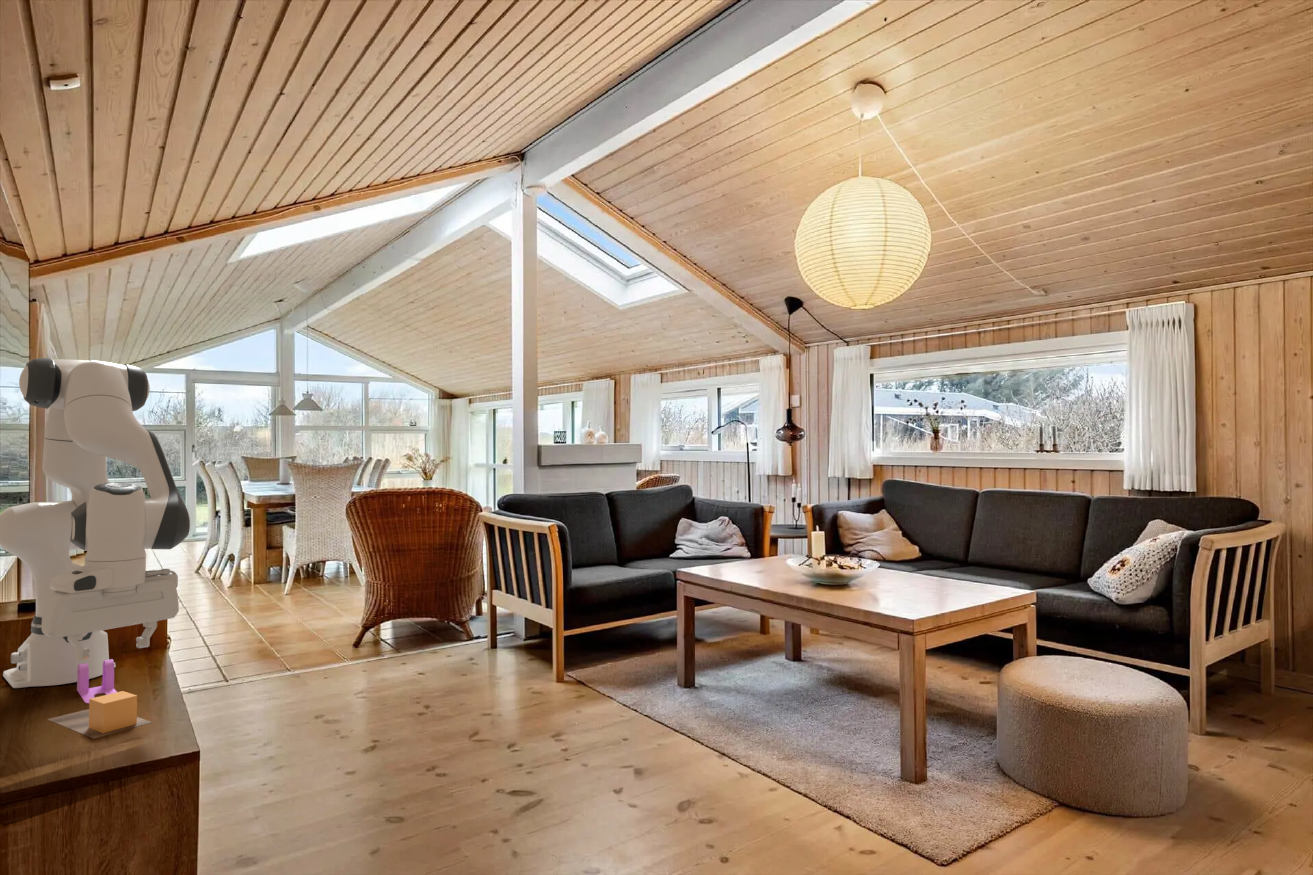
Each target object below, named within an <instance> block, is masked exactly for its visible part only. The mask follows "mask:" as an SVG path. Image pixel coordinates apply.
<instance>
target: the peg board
mask: <svg viewBox="0 0 1313 875" xmlns="http://www.w3.org/2000/svg"><path fill="white" fill-rule="evenodd" d="M46 720H47V721H50V722H51V723H55V724H57V725H59V726H62V727H65V728H66V729H69V730H71V731H74V732H76V733H79V734H82V735H84V736H87V737H89V738H91V739H98V738H101V737H105V736H109V735H112V734H116V733H120V732H123V731H127V730H130V729H133V728H138V727H141V726H144V725H147V724H152V723H153V722H152V721H150V720H147V719H144V718H141V717H139V716H137V724H135V725H131V726H127V727H124V728H120V729H116V730H113V731H109V732H106V733H101V732H99V731H96V730H94V729H91V728H89V708H88V709H84V710H79V711H75V712H71V713H67V714H63V715H60V716H55V717H51V718H48V719H46Z"/></svg>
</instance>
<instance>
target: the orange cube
mask: <svg viewBox="0 0 1313 875" xmlns="http://www.w3.org/2000/svg"><path fill="white" fill-rule="evenodd" d="M88 709H89V728H91V729H94V730H96V731H99V732H101V733H106V732H109V731H113V730H116V729H120V728H124V727H127V726H131V725H135V724H137V717H138V695H137V694H133V693H130V692H126V691H124V690H122V691H117V692H116V693H112V694H108V695H106V694H105V695H99V696H96V697H95V698H91V699H89V703H88Z"/></svg>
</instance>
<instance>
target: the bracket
mask: <svg viewBox="0 0 1313 875" xmlns="http://www.w3.org/2000/svg"><path fill="white" fill-rule="evenodd" d="M101 682H102V683H101V685H100V686H95V687H90V679H89V666H88V663H85V664H79V665H78V671H77V682H76V691H77V692H78V694H79V695H80V697H81V698H82V700H83V702H84V703H85V704H89V699H91V698H95V696H96V695H98V694H105V695H108V694H112V693H116V692H118V691H117V690H116V689H115V668H114V659H113V658H111V659H110V658H109V660H104V661H103V674H102V681H101Z"/></svg>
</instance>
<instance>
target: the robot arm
mask: <svg viewBox="0 0 1313 875" xmlns="http://www.w3.org/2000/svg"><path fill="white" fill-rule="evenodd" d="M18 380H19V381H18V382H19V383H18V384H19V390H20V392H21V394H22V396H23V397H22V398H23V400H24V401H25V402H27V404H29V405H30V406H33V407H37V408H39V409H46V410H48V409H49V410H48V414H47V417H46V422H45V428H44V439H43V440H44V441H43V452H42V453H43V455H42V463H41V464H42V466H41V468H42V472H43V475H44V476H46V478H47V479H48V480H50V481H51V482H53V483H56V484H58V485H61V486H63V487H66V488H68V489H69V490H70V492H71V500H62V501H61V500H60V501H39V502H29V503H23V504H17V505H14V506H9V507H7V508H5V509H4V510H3V511H2V512H1V513H0V547H1V548H2V550H4V551H5V552H8V553H9V554H12V555H13V556H15V557H16V558H18V559H20V561H21V562H22V563H24V565H25V566H26V567H27V569H28V570H29V572H30V573H31V575H32V579H33V584H34V592H35V615H34V616H33V618H32V621H31V624H30V626H31V628H30V632H31V633H30V635H29V636H28V637H27V638H26V640H24V641H23V643H22V644H21V645H20V646H19V647H18V649H17V652H16V651H14V652H12V653H11V654H10V663H11V664H16V667H12V668H9V669H7V670H3V673H2V676H3V678H4V680H6V681H7V682H8V684H9V685H10V686H11V687H12V688H13V689H20V688H21V689H22V688H29V687H45V686H46V687H47V686H48V687H49V686H58V685H65V684H72V683H77V671H78V665H79V664H85V663H88V666H89V680H90V679H94V678H97V677H100V676H103V661H104V660H110V655H109V639H108V632H106V630H111V629H116V628H117V629H118V628H123V627H124V628H125V627H130V626H134V625H141V624H142V627H144V630H143V632H142V634H141V635H140V636H137V637H136V638H135V641H136V644H135V645H136V649H143V648H148V647H150V641H151V639H150V638H151V637H152V635H153V633H154V632H155V631H156V629H157V627H158V622H159V621H164V620H165V621H166V620H171V619H174V618H175V617H176V616H177V615H178V613H179V612H180V611H179V610H180V604H179V596H178V590H177V587H178V585H179V576H178V573H176V572H175V571H174V570H171V569H170V568H161V569H158V570H157V569H156V570H155V569H154V570H153V569H152V570H146V569H147V568H146V566H147V565H146V564H147V563H146V562H147V554H146V550H172V549H174V548H175V547H177V546H179V544H180V543H182V542H183V541H184V540H185V539H186V538H187V537H188V536H189V535H190V534H189V533H190V531H191V530H190V529H191V528H190V527H191V517H190V514H189V511H188V508H187V506H186V504H185V502H184V500H183V499H182V496H181V494H180V493H179V491H178V488H177V485H176V482H175V479H174V477H173V474H172V472H171V469H170V467H169V463H168V460H167V458H166V455H165V452H164V450H163V448H162V446H161V443H160V441H159V439H158V437H157V436H156V434H155V433H154V432H153V431H151V430H150V429H149V430H148V429H147V428H145V427H144V426H143V425H142V424H141V423H140V422H139V421H138V420H137V418H136V416H135V415H134V412H137V411H138V410H139V409H141V408H143V407H144V406H145V404H146V402H147V400H148V398H149V395H150V390H151V388H150V383H149V380H148V376H147V372H145V371H144V370H143V369H142V367H138V366H135V365H130V364H127V363H124V364H120V363H113V362H111V361H110V362H109V361H103V360H97V359H96V360H95V359H87V360H86V359H69V358H68V359H67V358H66V359H65V358H59V359H57V358H56V359H53V358H52V357H38V358H33V359H32V360H29V361H28V362H26V364H25V367H24V368H23V370H22V371H21V374H20V376H19V379H18ZM107 458H111V459H113V460H118V461H120V462H124V463H126V464H129V465H130V466H134V467H135V468H136V469H138V470H139V471H140V472H141V474H142V477H143V480H144V482H145V484H146V488H147V490H148V493H149V496H150V498H145V492H144V488H142V486H140V485H138V484H135V483H129V482H123V481H121V482H119V481H118V482H117V481H115V482H110V480H109V478H108V473H107ZM75 550H76V551H77V550H83V551H86V554H85V556H84V565H80V564H76V563H74V562H73V561H72V560H71V559H72V558H71V556H70V551H75ZM115 668H116V662H114V669H115Z"/></svg>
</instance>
